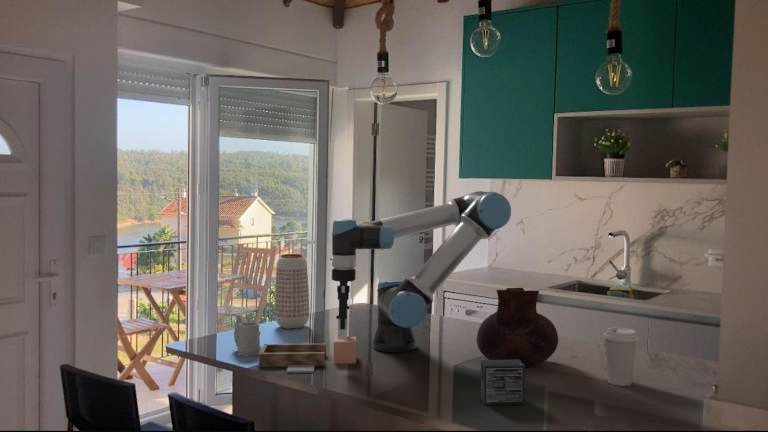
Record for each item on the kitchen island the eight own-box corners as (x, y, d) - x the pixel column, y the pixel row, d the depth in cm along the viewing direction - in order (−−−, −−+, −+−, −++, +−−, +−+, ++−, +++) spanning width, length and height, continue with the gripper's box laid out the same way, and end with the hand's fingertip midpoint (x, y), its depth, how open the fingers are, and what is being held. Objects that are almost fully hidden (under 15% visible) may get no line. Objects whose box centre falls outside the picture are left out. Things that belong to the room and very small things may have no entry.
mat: (314, 366, 215) (314, 364, 215) (313, 372, 208) (313, 370, 208) (288, 366, 214) (288, 364, 214) (286, 373, 207) (286, 371, 207)
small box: (519, 397, 185) (519, 358, 185) (525, 405, 179) (525, 365, 178) (480, 397, 185) (480, 358, 184) (484, 405, 178) (484, 365, 178)
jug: (558, 357, 226) (560, 280, 224) (556, 378, 202) (557, 293, 200) (482, 351, 233) (482, 277, 231) (470, 372, 208) (471, 289, 207)
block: (356, 357, 225) (356, 336, 225) (356, 363, 218) (356, 341, 218) (334, 358, 225) (334, 336, 224) (333, 364, 218) (333, 341, 217)
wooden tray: (326, 355, 227) (326, 343, 227) (324, 365, 215) (324, 353, 215) (264, 356, 227) (264, 344, 226) (258, 366, 214) (258, 353, 214)
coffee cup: (609, 375, 205) (610, 325, 204) (642, 381, 199) (643, 330, 198) (596, 383, 198) (597, 331, 197) (630, 389, 192) (631, 336, 191)
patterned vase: (272, 324, 274) (271, 253, 273) (305, 322, 278) (305, 252, 277) (277, 331, 262) (277, 257, 260) (312, 329, 266) (312, 256, 264)
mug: (246, 357, 225) (246, 321, 224) (225, 351, 233) (225, 315, 232) (265, 353, 230) (265, 317, 230) (244, 347, 238) (244, 312, 238)
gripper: (333, 262, 232) (332, 325, 233) (330, 273, 207) (329, 343, 208) (355, 263, 232) (354, 325, 233) (355, 273, 207) (354, 343, 209)
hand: (342, 334), depth 221 cm, fingers open, 13 cm apart
